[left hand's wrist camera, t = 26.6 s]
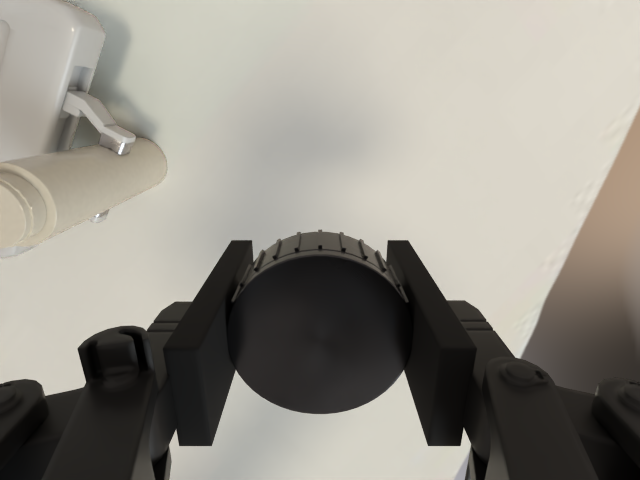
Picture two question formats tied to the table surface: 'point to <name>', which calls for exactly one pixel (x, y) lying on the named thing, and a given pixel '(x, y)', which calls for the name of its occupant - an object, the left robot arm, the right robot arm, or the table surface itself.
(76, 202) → the jar
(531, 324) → the table surface
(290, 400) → the lid
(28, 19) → the right robot arm
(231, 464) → the table surface
